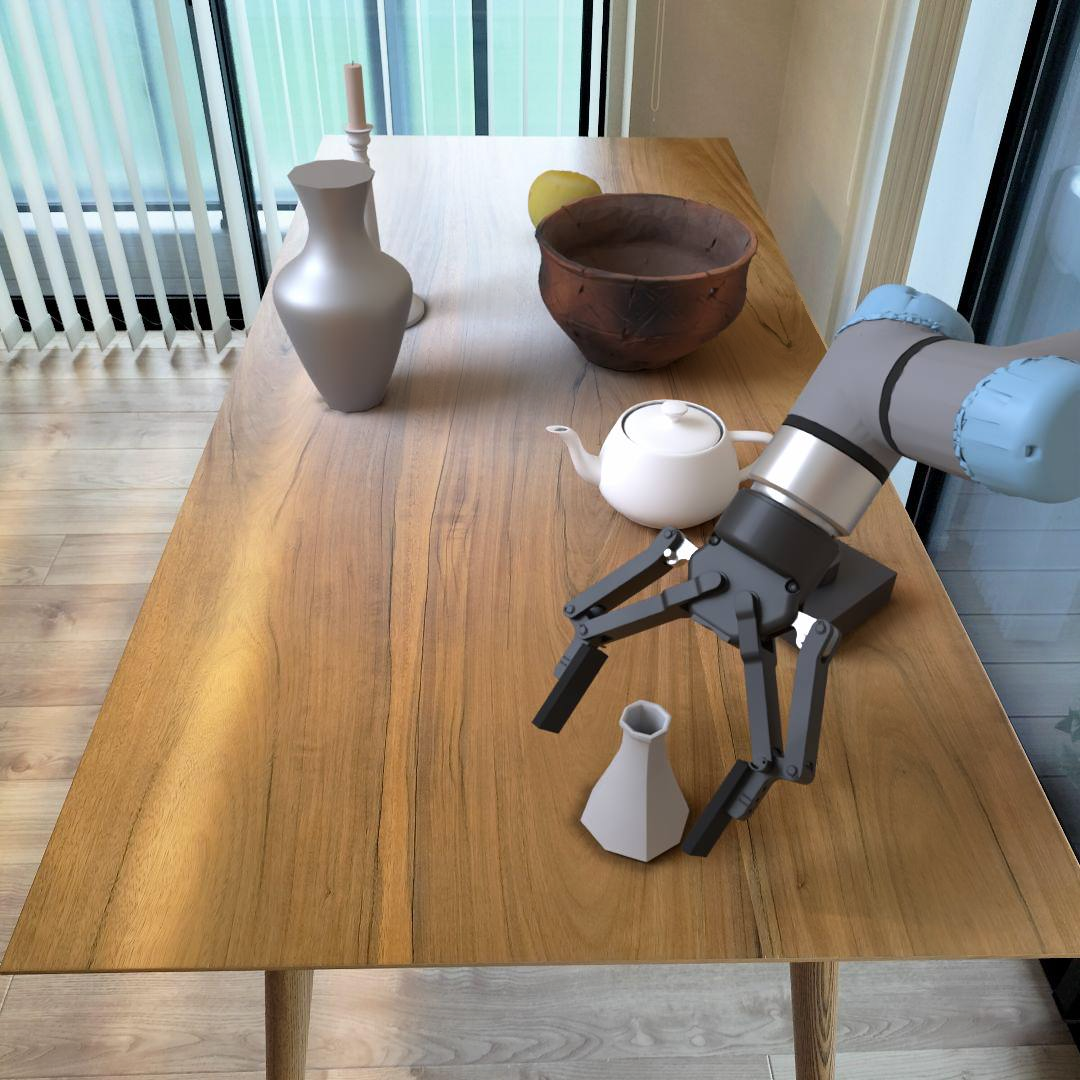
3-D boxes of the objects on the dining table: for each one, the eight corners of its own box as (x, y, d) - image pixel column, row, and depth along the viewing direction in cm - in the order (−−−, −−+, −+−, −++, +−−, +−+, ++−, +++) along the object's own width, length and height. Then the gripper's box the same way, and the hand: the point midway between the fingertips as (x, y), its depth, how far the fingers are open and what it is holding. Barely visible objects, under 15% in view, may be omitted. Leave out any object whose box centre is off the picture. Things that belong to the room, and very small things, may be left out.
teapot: (753, 460, 111) (768, 367, 104) (784, 542, 100) (803, 443, 94) (540, 464, 110) (542, 370, 103) (548, 546, 99) (551, 447, 92)
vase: (403, 436, 114) (386, 203, 98) (270, 425, 115) (233, 193, 100) (431, 370, 125) (419, 152, 110) (309, 361, 126) (282, 144, 111)
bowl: (713, 421, 117) (731, 291, 108) (502, 379, 124) (502, 253, 114) (758, 325, 136) (777, 207, 127) (573, 293, 142) (577, 179, 133)
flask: (561, 824, 74) (566, 725, 68) (621, 761, 79) (630, 662, 73) (649, 881, 71) (662, 781, 65) (706, 811, 75) (723, 711, 69)
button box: (890, 601, 94) (902, 555, 91) (813, 658, 88) (824, 612, 85) (771, 532, 101) (779, 488, 98) (693, 581, 95) (699, 536, 92)
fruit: (608, 250, 154) (612, 180, 148) (534, 255, 152) (535, 184, 146) (592, 223, 162) (595, 156, 156) (522, 227, 160) (522, 160, 154)
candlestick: (335, 287, 142) (309, 44, 124) (431, 293, 142) (419, 48, 123) (311, 331, 132) (278, 73, 114) (414, 337, 132) (398, 78, 113)
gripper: (979, 623, 65) (787, 913, 66) (673, 452, 80) (519, 692, 81) (954, 593, 59) (742, 913, 60) (628, 414, 74) (462, 674, 75)
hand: (614, 787), depth 70 cm, fingers open, 13 cm apart
